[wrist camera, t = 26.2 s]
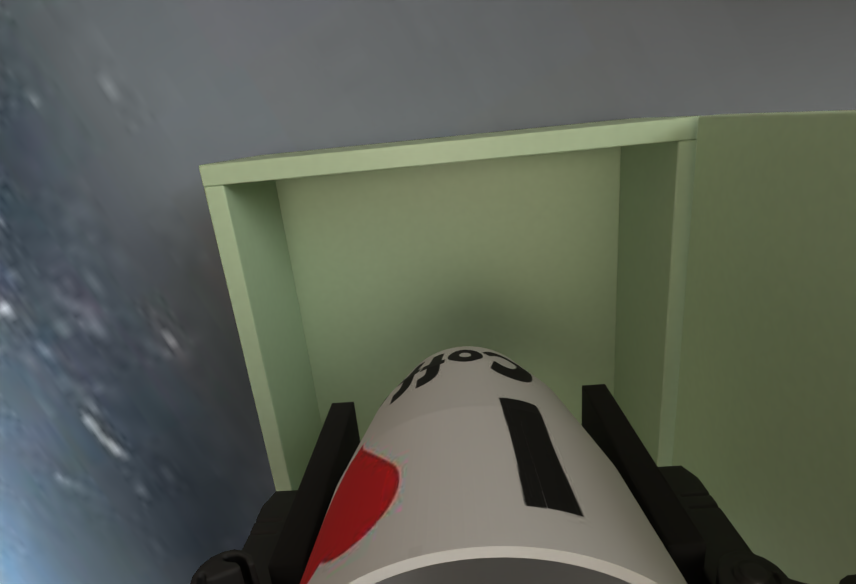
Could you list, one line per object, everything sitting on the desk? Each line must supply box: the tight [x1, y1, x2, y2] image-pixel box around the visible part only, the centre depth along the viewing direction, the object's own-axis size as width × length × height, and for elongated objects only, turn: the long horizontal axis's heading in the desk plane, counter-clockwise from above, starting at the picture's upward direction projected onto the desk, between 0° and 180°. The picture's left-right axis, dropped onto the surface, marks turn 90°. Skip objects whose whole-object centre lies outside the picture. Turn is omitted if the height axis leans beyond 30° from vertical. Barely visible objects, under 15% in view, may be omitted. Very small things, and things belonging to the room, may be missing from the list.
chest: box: [199, 116, 701, 491], centre depth 24 cm, size 19×19×7 cm
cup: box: [300, 346, 687, 584], centre depth 13 cm, size 8×8×10 cm
